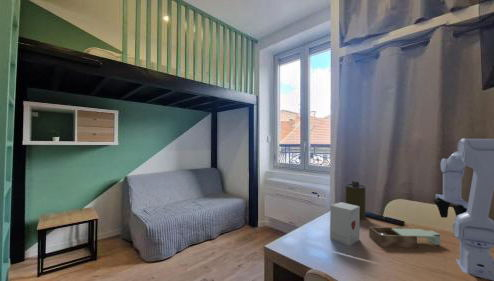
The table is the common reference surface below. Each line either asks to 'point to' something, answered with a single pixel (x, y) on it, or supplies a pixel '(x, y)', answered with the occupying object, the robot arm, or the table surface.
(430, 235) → the lid
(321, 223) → the table surface
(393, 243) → the tub
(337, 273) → the table surface
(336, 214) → the supplement box
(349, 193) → the canister
